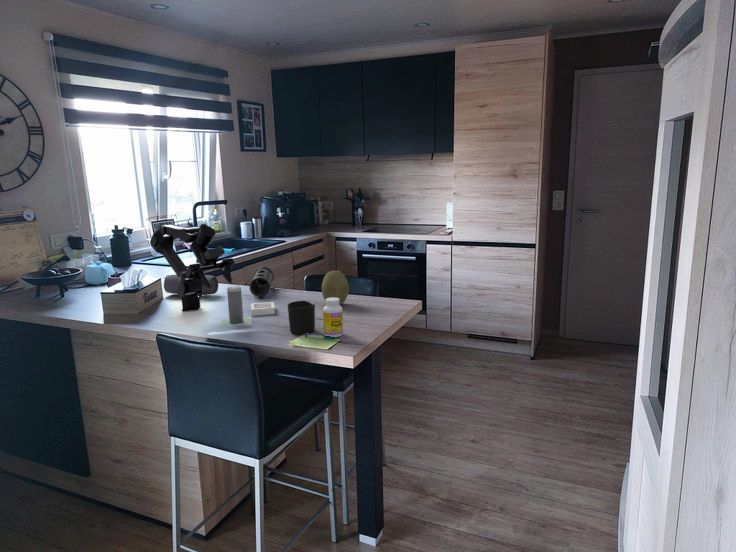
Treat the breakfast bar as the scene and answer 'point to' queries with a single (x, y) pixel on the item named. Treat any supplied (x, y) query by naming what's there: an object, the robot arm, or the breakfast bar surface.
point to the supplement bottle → (333, 318)
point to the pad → (227, 324)
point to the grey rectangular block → (235, 304)
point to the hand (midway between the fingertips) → (220, 285)
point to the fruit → (335, 286)
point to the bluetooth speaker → (173, 283)
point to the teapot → (98, 272)
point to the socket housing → (262, 308)
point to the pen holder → (301, 317)
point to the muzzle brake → (262, 281)
